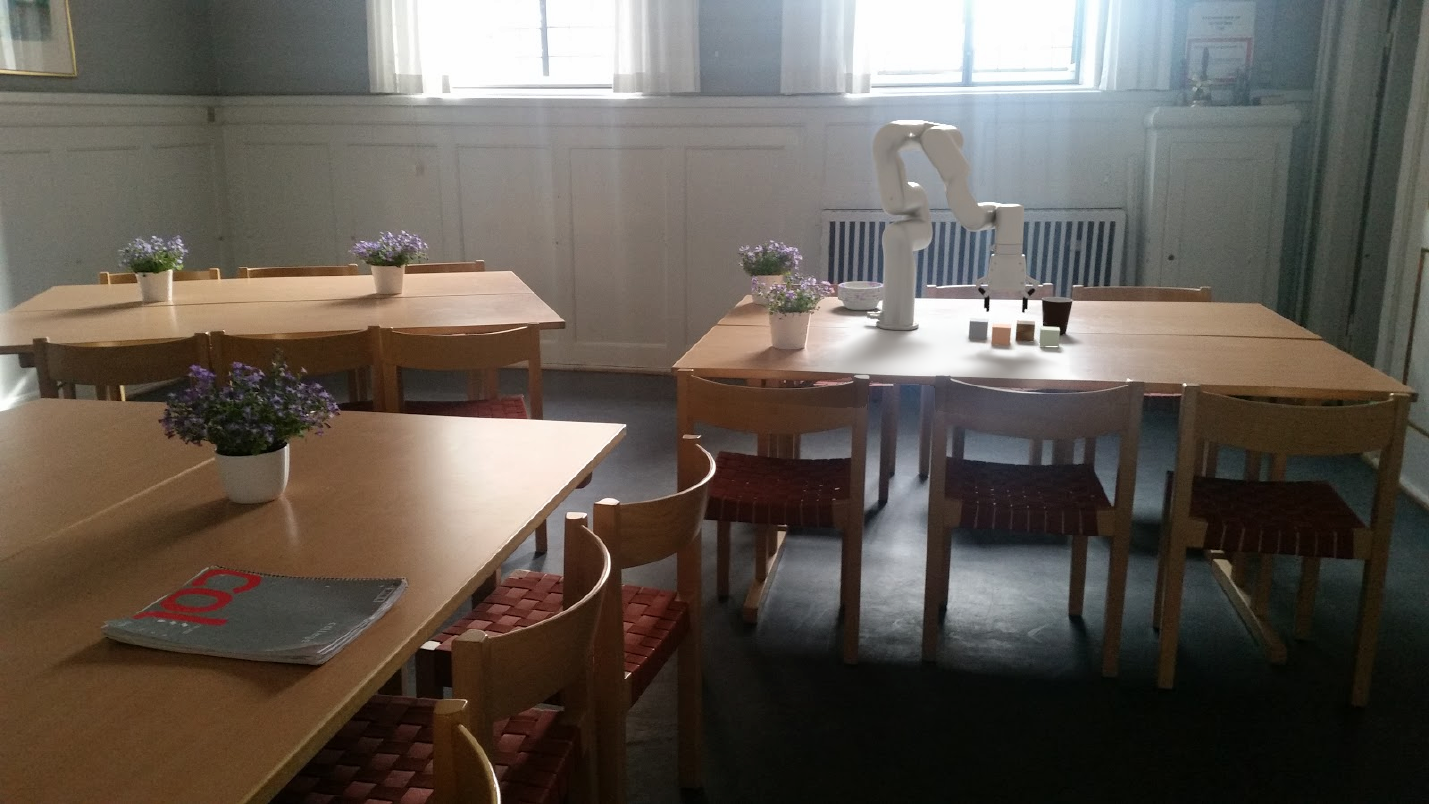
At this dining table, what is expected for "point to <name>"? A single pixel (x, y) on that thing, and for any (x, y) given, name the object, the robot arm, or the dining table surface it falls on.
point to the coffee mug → (1056, 312)
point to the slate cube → (978, 328)
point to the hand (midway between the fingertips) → (1005, 311)
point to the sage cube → (1049, 336)
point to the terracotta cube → (1001, 334)
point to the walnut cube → (1025, 330)
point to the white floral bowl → (860, 295)
